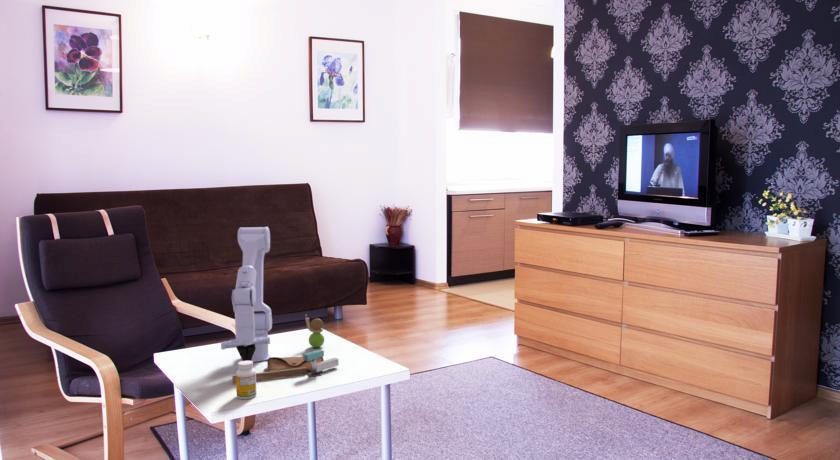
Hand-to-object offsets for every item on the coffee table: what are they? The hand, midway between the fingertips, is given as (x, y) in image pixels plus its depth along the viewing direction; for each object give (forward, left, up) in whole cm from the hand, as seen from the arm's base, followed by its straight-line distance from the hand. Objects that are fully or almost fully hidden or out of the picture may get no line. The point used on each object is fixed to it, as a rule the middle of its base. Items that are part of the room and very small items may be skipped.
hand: (246, 369), depth 206 cm
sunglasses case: (+2, +15, -2) cm, 15 cm away
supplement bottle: (+20, -3, -2) cm, 20 cm away
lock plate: (+9, +19, -2) cm, 21 cm away
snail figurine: (-21, +27, -2) cm, 34 cm away
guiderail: (+7, +6, -2) cm, 9 cm away
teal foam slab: (+8, +22, -1) cm, 23 cm away
